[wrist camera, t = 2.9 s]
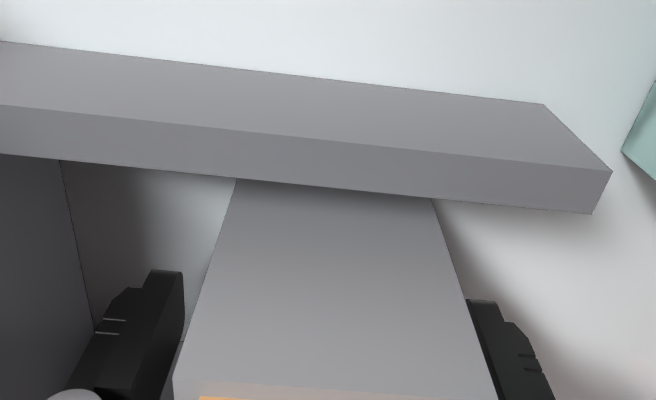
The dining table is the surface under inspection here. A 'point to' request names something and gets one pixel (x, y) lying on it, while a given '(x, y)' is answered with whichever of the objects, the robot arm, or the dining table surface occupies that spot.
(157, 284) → the robot arm
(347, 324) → the grey block tan panel
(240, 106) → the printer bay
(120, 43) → the dining table surface
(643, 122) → the tray
